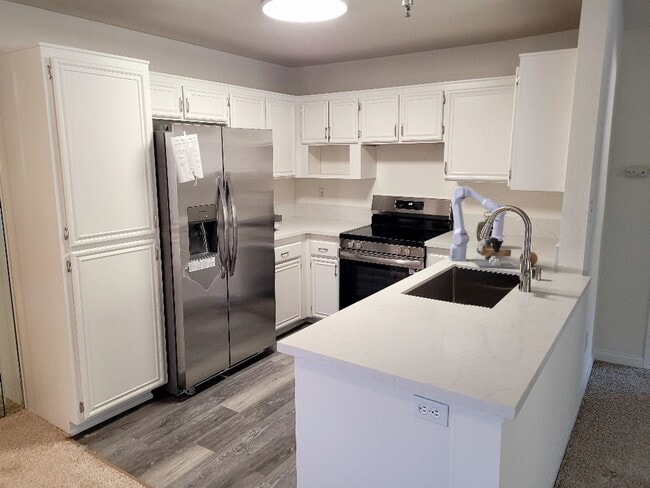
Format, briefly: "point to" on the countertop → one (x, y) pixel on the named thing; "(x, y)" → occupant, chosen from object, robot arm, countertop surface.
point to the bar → (492, 253)
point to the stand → (494, 264)
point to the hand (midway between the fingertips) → (495, 251)
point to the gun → (484, 246)
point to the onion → (531, 258)
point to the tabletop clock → (481, 227)
